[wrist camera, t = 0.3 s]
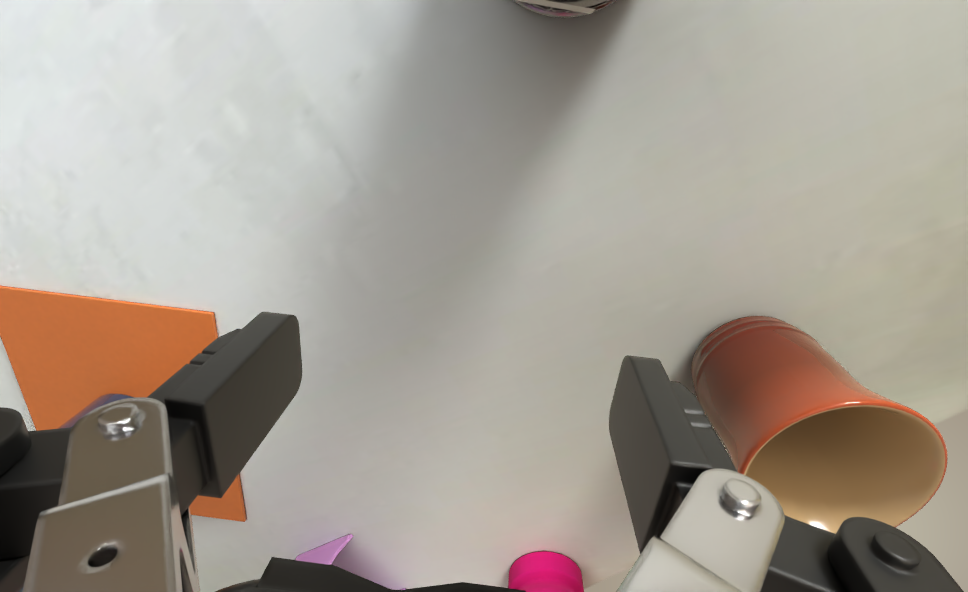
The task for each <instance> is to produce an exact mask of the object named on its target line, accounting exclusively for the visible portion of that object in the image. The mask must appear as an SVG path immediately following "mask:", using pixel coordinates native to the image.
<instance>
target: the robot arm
mask: <svg viewBox="0 0 968 592" xmlns="http://www.w3.org/2000/svg"><path fill="white" fill-rule="evenodd" d="M513 1H515V2H516V3H518V4H519V5H521V6H523V7H524V8H526V9H528V10H530V11H533V12H535V13H538V14H541V15H545V16H550V17H560V18H568V17H578V16H583V15H587V14H591V13H594V12H596V11H599V10H601V9H603V8H605V7H607V6H609V5H611V4H612V3H614V2H616V1H617V0H513ZM301 379H302V359H301V346H300V334H299V323H298V320H297V318H296V316H294V315H287V314H279V313H270V312H261V313H260V314H259V315H257V316H256V317H255V318H254V319H253V320H252V321H251V322H250V323H248V324H247V325H246V326H245V327H244V328H243V329H236V330H234V331H232V332H229V333H227V334H225V335H223V336H221V337H219V338H216V339H215V340H214V341H213V342H212V343H211V344H209V345H208V346H207V347H206V348H205V349H203V350H202V353H199V354H198V355H196V356H195V357H194V358H193V359H192V360H190V363H189V364H186V365H184V366H183V367H182V368H181V369H180V370H179V371H177V372H176V373H175V374H174V375H173V376H171V377H170V378H169V379H168V380H167V381H166V382H164V383H163V384H162V385H161V386H160V387H158V388H157V389H156V390H155V391H154V392H153V393H151V394H150V395H149V396H148V397H147V398H146V397H136V398H127V399H122V400H118V401H114V402H111V403H108V404H105V405H103V406H100V407H98V408H96V409H94V410H92V411H90V412H89V413H87V414H86V415H84V416H83V417H82V418H80V419H79V420H78V421H77V422H76V423H75V424H74V426H73V427H70V428H60V429H49V430H38V431H28V430H27V428H26V425H25V423H24V420H23V418H22V415H21V414H20V413H19V412H18V411H16V410H13V409H10V408H0V592H19V591H20V590H21V589H22V588H23V592H200V586H199V577H198V569H197V560H196V552H195V544H194V535H193V527H192V518H191V513H190V509H189V506H190V505H191V503H192V502H193V501H194V500H195V498H196V497H197V496H198V495H199V496H207V497H214V498H222V497H223V495H224V494H225V492H226V491H227V490H228V488H229V487H230V485H231V484H232V483H233V481H234V480H235V478H236V477H237V476H238V474H239V473H240V472H241V470H242V469H243V467H244V466H245V465H246V463H247V462H248V460H249V459H250V458H251V456H252V455H253V453H254V452H255V451H256V449H257V448H258V447H259V445H260V444H261V442H262V441H263V440H264V438H265V437H266V435H267V434H268V433H269V431H270V430H271V428H272V427H273V426H274V424H275V423H276V421H277V420H278V419H279V417H280V416H281V415H282V413H283V412H284V410H285V409H286V408H287V406H288V405H289V403H290V402H291V401H292V399H293V398H294V396H295V395H296V393H297V391H298V389H299V387H300V383H301ZM704 413H705V412H704V410H703V409H702V407H701V405H700V403H699V401H698V400H697V398H696V396H694V395H693V394H692V393H691V392H690V391H689V390H688V389H687V388H685V387H684V386H683V385H682V384H681V383H680V382H672V381H670V380H669V378H668V376H667V374H666V372H665V370H664V368H663V366H662V364H661V362H660V361H659V360H658V359H653V358H644V357H636V356H625V358H624V359H623V362H622V365H621V369H620V373H619V377H618V381H617V384H616V388H615V392H614V396H613V400H612V404H611V408H610V415H609V430H610V436H611V440H612V444H613V448H614V452H615V456H616V460H617V464H618V468H619V472H620V476H621V480H622V484H623V488H624V492H625V495H626V499H627V503H628V507H629V511H630V515H631V519H632V523H633V527H634V531H635V535H636V539H637V543H638V547H639V551H640V554H641V555H640V556H639V558H638V559H637V561H636V562H635V564H634V565H633V567H632V568H631V570H630V571H629V573H628V574H627V576H626V577H625V579H624V581H623V582H622V583H621V585H620V587H619V588H618V590H617V591H616V592H964V591H963V590H962V589H961V588H960V586H959V585H958V584H957V583H956V582H955V581H954V579H953V578H952V577H951V576H950V574H949V573H948V572H947V570H946V569H945V568H944V567H943V565H942V564H941V563H940V562H939V561H938V560H937V559H936V557H935V556H934V555H933V554H932V553H931V552H929V551H928V550H927V549H926V548H925V547H924V546H923V545H921V544H920V543H919V542H918V541H916V540H915V539H913V538H912V537H910V536H909V535H907V534H906V533H904V532H902V531H900V530H898V529H896V528H895V527H893V526H891V525H888V524H886V523H884V522H881V521H878V520H875V519H871V518H866V517H851V518H848V519H846V520H844V521H843V523H842V524H841V526H840V527H839V529H838V531H837V533H836V534H835V533H832V532H829V531H826V530H823V529H821V528H818V527H815V526H812V525H810V524H807V523H804V522H801V521H798V520H796V519H793V518H791V517H788V516H786V515H784V512H783V509H782V507H781V505H780V503H779V502H778V500H777V499H776V498H775V497H774V495H773V494H772V493H771V492H770V491H769V490H767V489H766V488H765V487H764V486H762V485H761V484H760V483H758V482H757V481H755V480H753V479H752V478H750V477H748V476H746V475H743V474H741V473H738V472H737V470H736V468H735V466H734V464H733V463H732V461H731V459H730V457H729V455H728V454H727V452H726V450H725V448H724V446H723V445H722V443H721V441H720V439H719V437H718V436H717V434H716V432H715V430H714V429H712V425H711V423H710V421H709V419H708V418H707V416H705V415H704ZM216 592H526V591H525V590H518V589H510V588H502V587H495V586H487V585H480V584H472V583H464V582H461V583H453V584H445V585H437V586H429V587H421V588H413V589H405V590H392V589H388V588H386V587H383V586H381V585H379V584H376V583H374V582H372V581H369V580H367V579H365V578H362V577H360V576H358V575H355V574H353V573H351V572H348V571H346V570H344V569H341V568H339V567H337V566H334V565H328V564H320V563H312V562H305V561H297V560H290V559H282V558H275V557H272V558H271V560H270V562H269V564H268V566H267V568H266V569H265V571H264V573H263V575H262V577H261V579H258V580H252V581H247V582H243V583H239V584H235V585H232V586H229V587H226V588H223V589H220V590H218V591H216Z"/></svg>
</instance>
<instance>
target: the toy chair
mask: <svg viewBox="0 0 968 592" xmlns="http://www.w3.org/2000/svg"><path fill="white" fill-rule="evenodd" d="M352 537H353V535H352V534H349V535H346V536H344V537H341V538H339V539H336V540H334V541H332V542H329V543H327V544H324V545H322V546H320V547H317V548H315V549H312V550H310V551H307V552H305V553H303V554H300V555H298V556H297V557H296V560H297V561H305V562H312V563H320V564H328V565H331V564H332V562H333V560H334V559H335V558H336V556H337V555H338V554H339V552H340V551H341V550H342V549H343V548H344V546H345V545H346V544H347V543H348V542H349V541H350V540H351V539H352ZM401 590H405V589H401Z"/></svg>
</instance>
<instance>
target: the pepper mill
mask: <svg viewBox="0 0 968 592" xmlns="http://www.w3.org/2000/svg"><path fill="white" fill-rule="evenodd" d="M508 588H510V589H518V590H525V591H526V592H584V589H583V581H582V574H581V571H580V569H579V567H578V566H577V565H576V563H575V562H573V561H572V560H571V559H570V558H568V557H566V556H564V555H562V554H558V553H554V552H545V551H543V552H533V553H530V554H526V555H524V556H522V557H520V558H519V559H517V560H516V561H515V562H514V563H513V565H512V566H511V568H510V570H509V584H508Z"/></svg>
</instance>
